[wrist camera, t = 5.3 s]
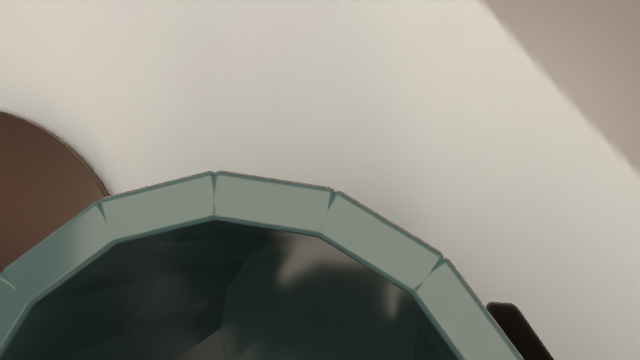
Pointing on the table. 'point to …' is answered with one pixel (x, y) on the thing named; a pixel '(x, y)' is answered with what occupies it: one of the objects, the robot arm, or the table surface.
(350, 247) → the tumbler
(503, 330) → the robot arm
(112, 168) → the table surface
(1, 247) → the trivet
